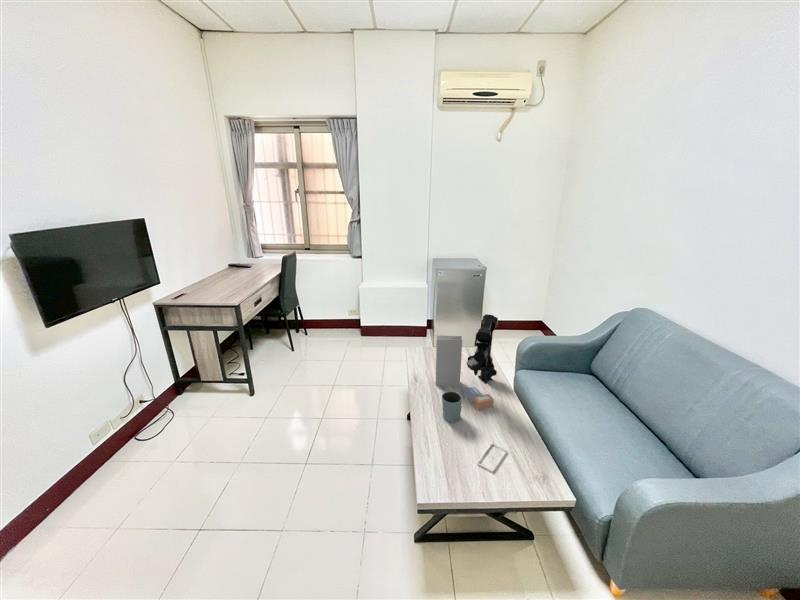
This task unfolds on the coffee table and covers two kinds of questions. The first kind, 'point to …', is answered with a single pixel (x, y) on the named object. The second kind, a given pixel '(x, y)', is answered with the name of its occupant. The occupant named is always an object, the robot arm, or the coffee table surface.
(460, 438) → the coffee table surface
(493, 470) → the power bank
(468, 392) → the blue book
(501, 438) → the coffee table surface
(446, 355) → the tall grey box
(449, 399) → the blue-grey cup
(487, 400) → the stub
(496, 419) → the coffee table surface
